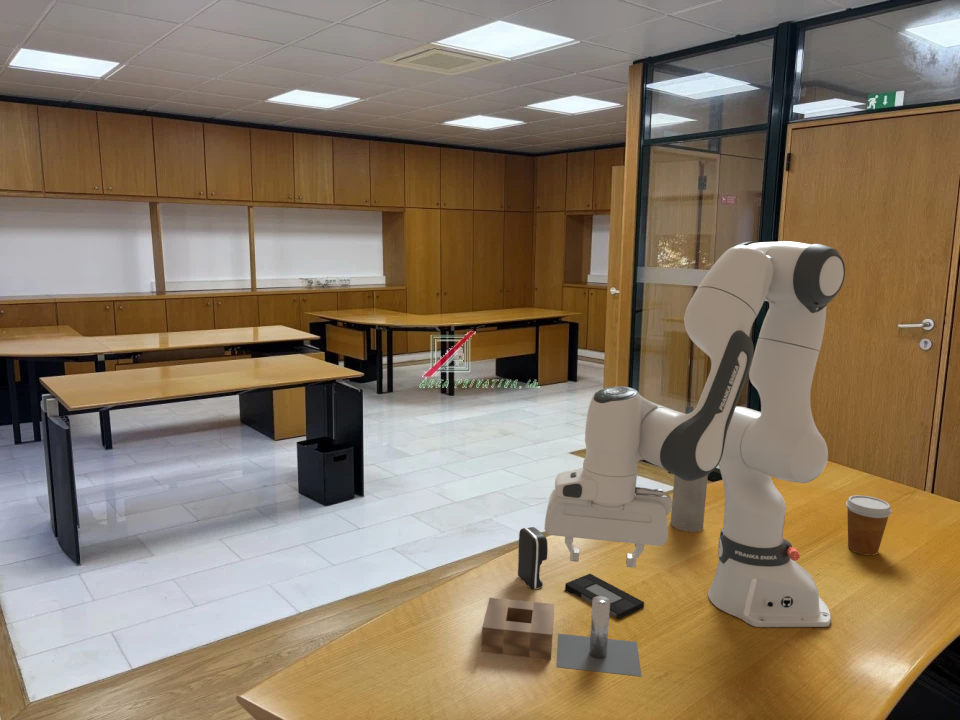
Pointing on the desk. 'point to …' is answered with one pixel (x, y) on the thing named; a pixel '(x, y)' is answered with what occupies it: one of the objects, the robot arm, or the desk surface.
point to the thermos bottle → (688, 504)
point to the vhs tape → (604, 594)
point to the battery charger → (531, 556)
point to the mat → (617, 661)
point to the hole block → (518, 628)
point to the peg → (599, 627)
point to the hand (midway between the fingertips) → (602, 563)
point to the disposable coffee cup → (866, 523)
